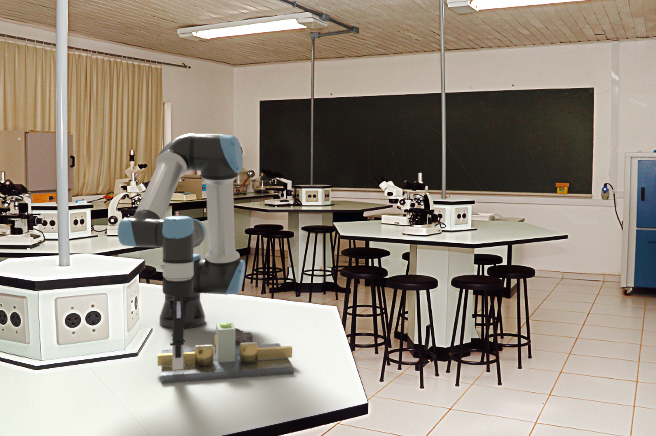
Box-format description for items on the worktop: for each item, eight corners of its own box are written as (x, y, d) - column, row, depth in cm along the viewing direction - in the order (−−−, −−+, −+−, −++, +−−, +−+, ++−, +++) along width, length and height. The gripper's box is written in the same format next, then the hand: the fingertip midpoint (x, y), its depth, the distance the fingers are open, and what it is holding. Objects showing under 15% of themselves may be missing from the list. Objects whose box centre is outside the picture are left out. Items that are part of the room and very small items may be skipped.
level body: (216, 355, 169) (216, 321, 168) (232, 353, 171) (232, 320, 170) (217, 362, 164) (218, 327, 163) (235, 361, 165) (235, 326, 164)
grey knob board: (161, 356, 172) (161, 336, 172) (279, 349, 181) (279, 330, 181) (161, 383, 153) (161, 360, 153) (293, 373, 162) (293, 352, 162)
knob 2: (240, 363, 163) (240, 346, 162) (238, 356, 168) (238, 340, 167) (293, 359, 167) (293, 343, 166) (289, 353, 171) (290, 337, 171)
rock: (251, 348, 182) (252, 333, 182) (213, 349, 181) (213, 334, 181) (252, 340, 190) (253, 326, 190) (216, 340, 189) (216, 326, 189)
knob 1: (212, 358, 166) (212, 342, 165) (214, 364, 161) (214, 347, 160) (157, 361, 162) (157, 345, 161) (157, 368, 157) (157, 351, 157)
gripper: (162, 273, 158) (162, 360, 160) (162, 283, 145) (162, 378, 148) (192, 272, 160) (191, 358, 162) (194, 282, 147) (194, 376, 150)
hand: (177, 368), depth 155 cm, fingers closed
